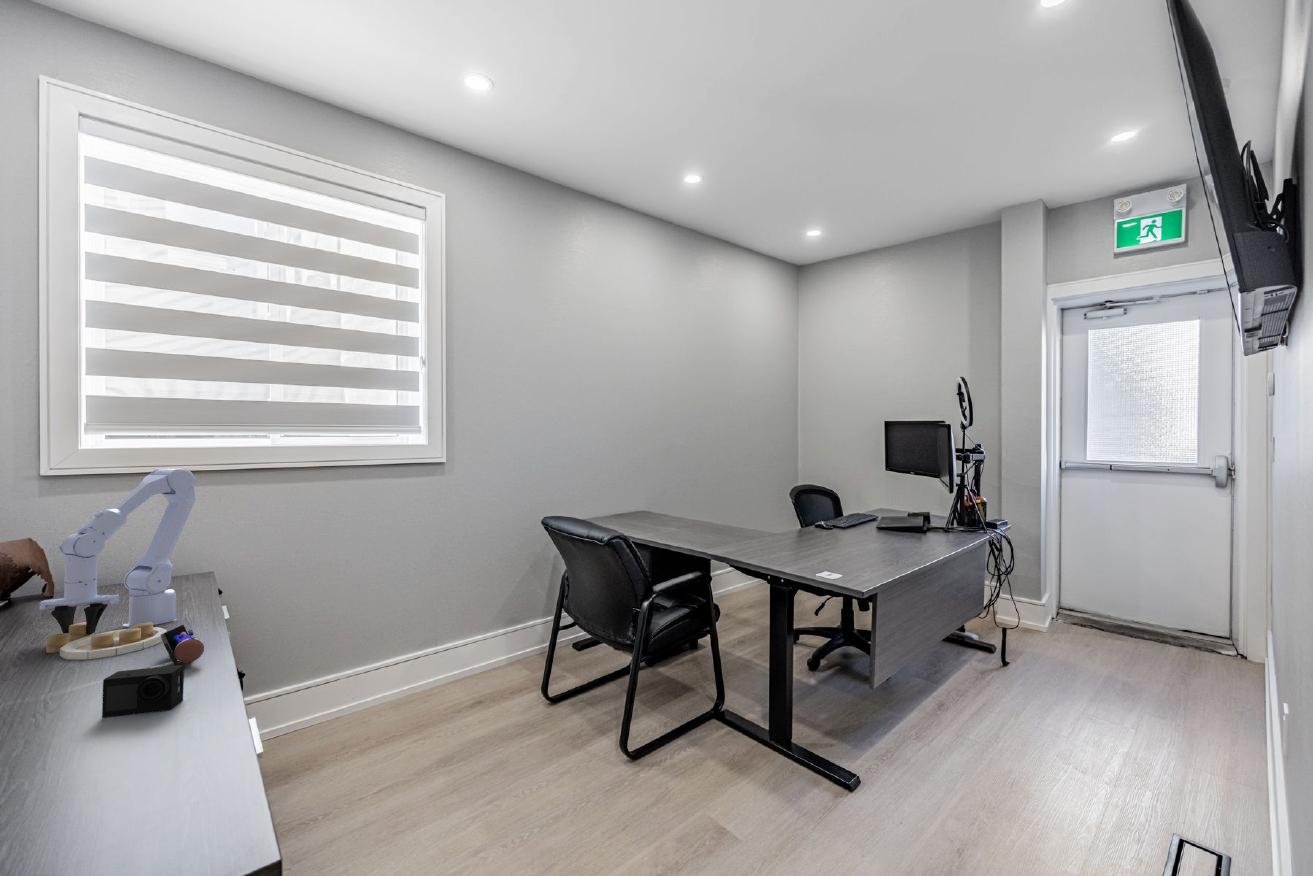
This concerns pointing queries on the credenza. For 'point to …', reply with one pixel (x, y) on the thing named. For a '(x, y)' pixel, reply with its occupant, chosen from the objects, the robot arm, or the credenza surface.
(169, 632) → the character figurine
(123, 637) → the seated bead
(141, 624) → the seated bead
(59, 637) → the bead
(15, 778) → the credenza surface
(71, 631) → the bead
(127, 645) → the tray
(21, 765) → the credenza surface
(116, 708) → the digital camera
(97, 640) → the seated bead
